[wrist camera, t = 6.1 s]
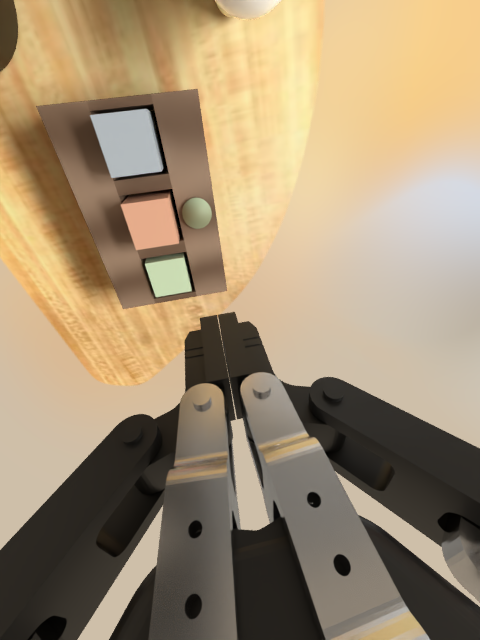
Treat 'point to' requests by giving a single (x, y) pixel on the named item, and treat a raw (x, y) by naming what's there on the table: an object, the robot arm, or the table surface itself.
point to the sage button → (169, 274)
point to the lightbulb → (246, 8)
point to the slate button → (129, 142)
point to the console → (142, 190)
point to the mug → (7, 31)
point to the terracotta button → (151, 219)
